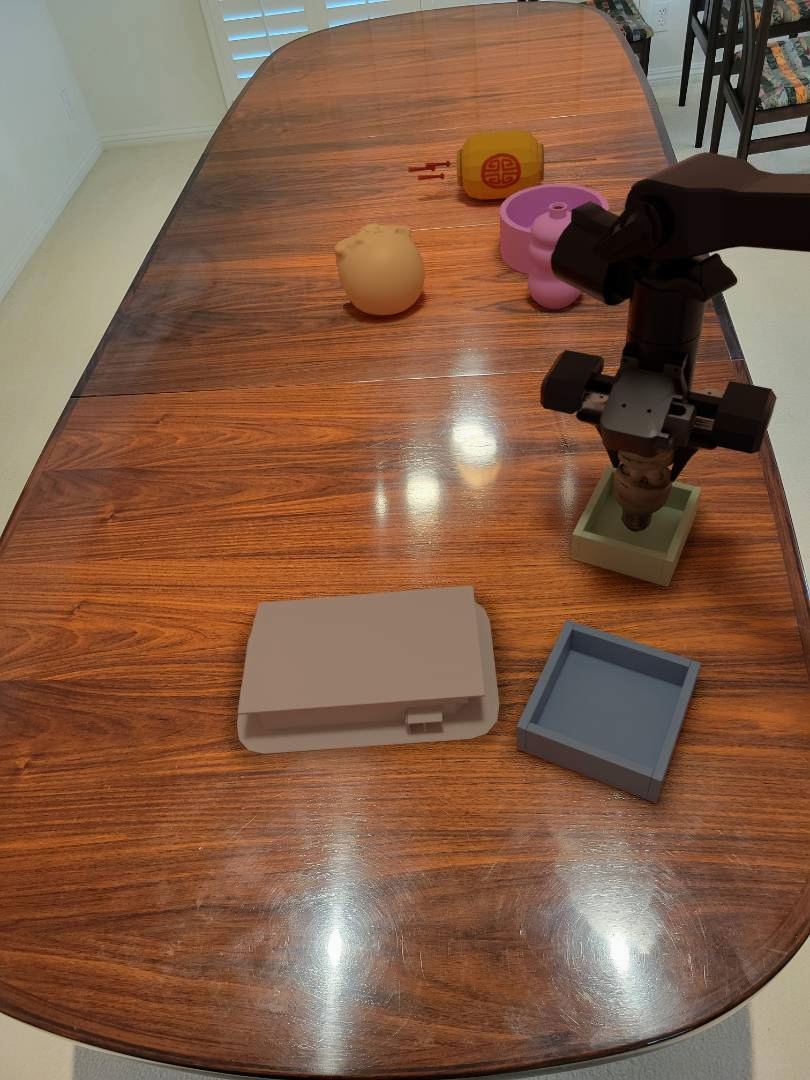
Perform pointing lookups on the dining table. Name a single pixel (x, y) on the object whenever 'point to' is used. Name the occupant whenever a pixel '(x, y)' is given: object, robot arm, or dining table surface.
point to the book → (368, 671)
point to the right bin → (635, 533)
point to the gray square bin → (609, 709)
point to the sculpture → (381, 269)
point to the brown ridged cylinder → (642, 486)
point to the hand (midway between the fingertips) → (644, 472)
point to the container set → (541, 236)
